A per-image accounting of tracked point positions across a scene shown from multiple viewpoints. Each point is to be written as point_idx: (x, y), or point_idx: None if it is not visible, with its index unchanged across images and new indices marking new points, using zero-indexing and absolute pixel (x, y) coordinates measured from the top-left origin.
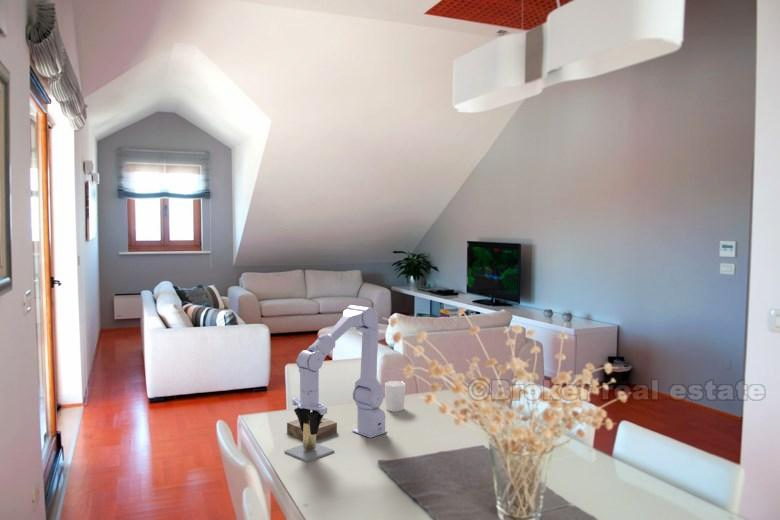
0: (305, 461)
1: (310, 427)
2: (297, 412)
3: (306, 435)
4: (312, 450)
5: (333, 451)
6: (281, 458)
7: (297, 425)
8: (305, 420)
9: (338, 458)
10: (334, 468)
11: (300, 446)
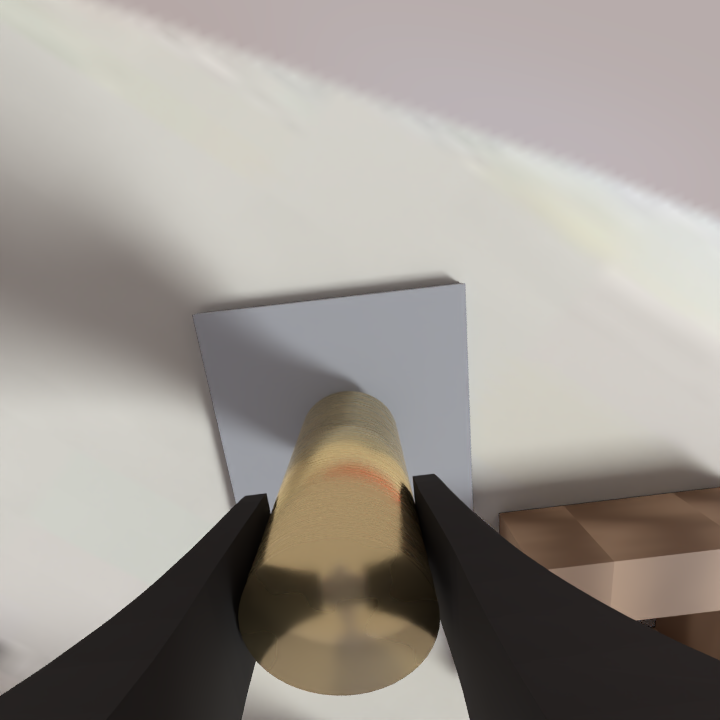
0: (215, 311)
1: (219, 545)
2: (593, 702)
3: (311, 453)
4: None
5: None
6: (381, 203)
7: (710, 564)
8: (454, 620)
9: (144, 502)
10: (2, 399)
11: (450, 417)
